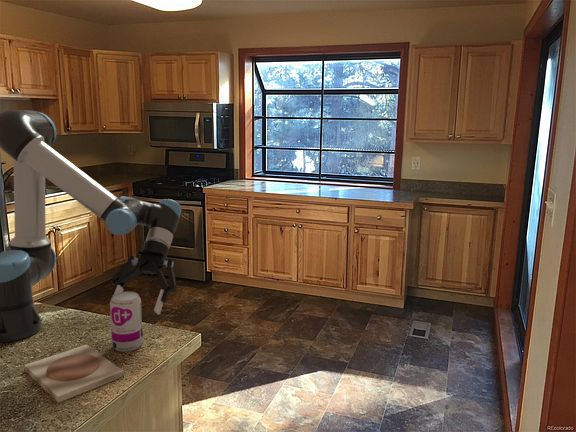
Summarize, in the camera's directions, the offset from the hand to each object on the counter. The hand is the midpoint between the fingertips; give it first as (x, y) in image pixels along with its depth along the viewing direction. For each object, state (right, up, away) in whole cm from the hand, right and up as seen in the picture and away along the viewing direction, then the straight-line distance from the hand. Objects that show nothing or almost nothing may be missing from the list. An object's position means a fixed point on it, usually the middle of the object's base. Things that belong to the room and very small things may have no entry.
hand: (134, 310), depth 136 cm
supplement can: (-2, -10, 0) cm, 11 cm away
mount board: (-10, -13, -15) cm, 22 cm away
